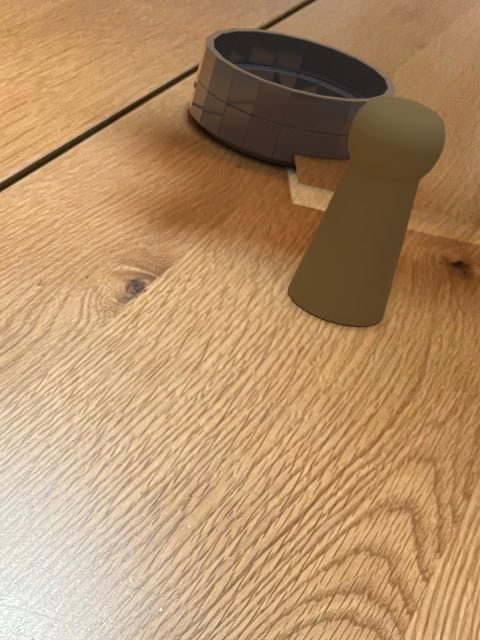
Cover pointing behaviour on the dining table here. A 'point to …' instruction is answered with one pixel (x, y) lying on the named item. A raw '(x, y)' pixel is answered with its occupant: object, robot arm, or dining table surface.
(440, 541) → the dining table surface
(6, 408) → the dining table surface
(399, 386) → the dining table surface
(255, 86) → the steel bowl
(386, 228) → the olive brown pawn
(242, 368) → the dining table surface
